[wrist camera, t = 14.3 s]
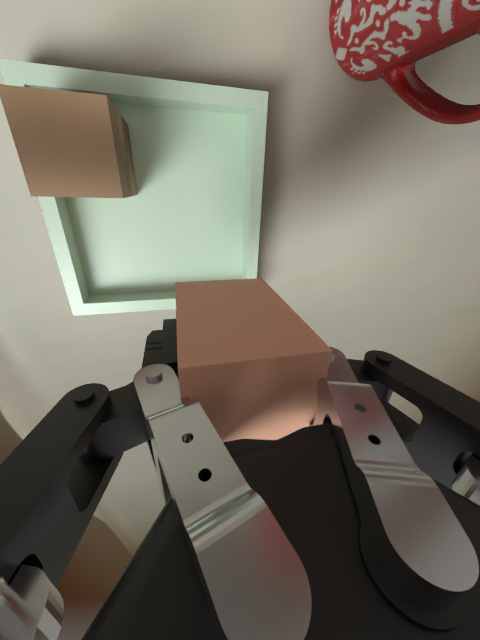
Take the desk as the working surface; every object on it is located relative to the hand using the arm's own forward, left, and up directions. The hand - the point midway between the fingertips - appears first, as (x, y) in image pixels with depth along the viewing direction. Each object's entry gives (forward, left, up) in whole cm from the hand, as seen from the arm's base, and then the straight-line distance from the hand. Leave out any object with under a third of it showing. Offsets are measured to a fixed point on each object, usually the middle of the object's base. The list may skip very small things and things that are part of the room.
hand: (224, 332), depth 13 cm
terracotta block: (0, 0, -2) cm, 2 cm away
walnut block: (-8, -7, -13) cm, 17 cm away
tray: (-5, -3, -14) cm, 15 cm away
